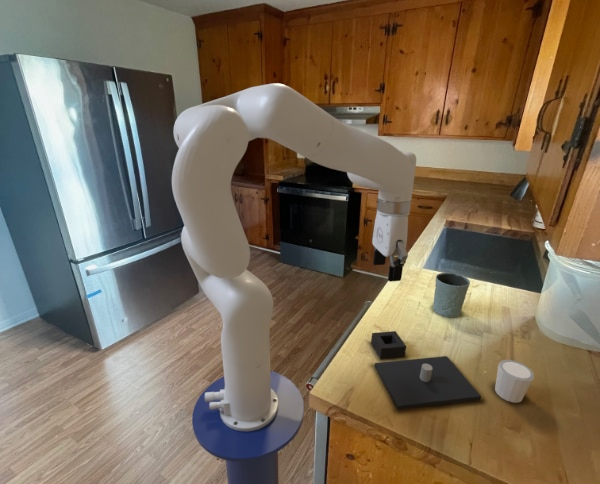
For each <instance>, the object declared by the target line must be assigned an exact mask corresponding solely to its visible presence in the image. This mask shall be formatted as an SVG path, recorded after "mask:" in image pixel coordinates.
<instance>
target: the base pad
mask: <svg viewBox="0 0 600 484" xmlns="http://www.w3.org/2000/svg"><path fill="white" fill-rule="evenodd" d="M374 368H375V371H376V373H377V374H378V376H379V378H380V380H381V382H382V384H383V386H384V387H385V390H386V391H387V393H388V395H389V397H390V399H391V401H392V402H393V404H394V406H395V408H396V410H397V411H400V410H409V409H416V408H418V409H419V408H424V407H425V408H426V407H435V406H444V405H451V404H459V403H468V402H476V401H481V399H482V395H481V394H480V393H479V392H478V390H477V389H476V388H475V386H474V385H473V384H471V382H470V381H469V380H468V378H466V377H465V376H464V374H463V373H462V372H461V371H460V370H459V368H458V367H457V366H456V365H455V363H453V362H452V360H451V359H450V358H449V357H448V355H446V356H445V355H443V356H436V357H434V356H433V357H423V358H412V359H402V360H401V359H400V360H393V361H381V362H375V363H374Z"/></svg>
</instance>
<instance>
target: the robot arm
mask: <svg viewBox="0 0 600 484" xmlns="http://www.w3.org/2000/svg"><path fill="white" fill-rule="evenodd" d="M172 132H173V138H174V142H175V144H176V146H177V148H178V150H177V152H176V155H175V158H174V163H173V167H172V172H171V190H172V194H173V199H174V202H175V203H176V208H177V210H178V212H179V215H180V217H181V220H182V222H183V225H184V226H183V228H182V229H181V233H180V234H181V235H180V240H181V241H180V242H181V247H182V250H183V252H184V255H185V256H186V258H187V260H188V263H189V265H190V267H191V269H192V272H193V273H194V275H195V278H196V280H197V281H198V284H199V286H200V288H201V290H202V291H203V293H204V295H205V296H206V297H207V299H208V300H209V301H210V302H211V303H212V305H213V306H214V308H215V309H216V310H217V312H218V313H219V315H220V317H221V320H222V329H221V333H220V348H221V349H220V350H221V356H222V367H223V377H224V380H225V389H222V390H220V392H206V393H205V402H210V405H209V408H210V409H216V408H220V416H221V419H222V421H223V422H224V423H225V424H226V425H227V426H228V427H230V428H232V429H234V430H237V431H246V432H247V431H254V430H257V429H260V428H262V427H264V426H266V425H267V424H269V423H270V422H271V421H272V420H273V418H274V417H275V416H276V413H277V411H278V397H277V395H276V393H275V392H274V391H273V390H272V389H271V375H270V371H271V346H270V345H271V343H270V342H271V341H270V340H271V339H270V338H271V337H270V333H271V321H272V317H273V312H274V298H273V295H272V293H271V291H270V289H269V287H268V286H267V285H266V284H265V282H263V281H262V280H261V279H260V278H259V277H257V276H256V275H255V274H254V273H252V271H249V270H248V267H249V264H250V260H251V249H250V244H249V240H248V238H247V236H246V233H245V231H244V228H243V225H242V222H241V220H240V217H239V213H238V211H237V208H236V205H235V201H234V197H233V194H232V179H233V175H234V173H235V170H236V168H237V166H238V165H239V163H240V161H241V160H242V158H244V157H243V156H244V155H245V153H246V152H247V148H248V146H249V145H248V144H249V142H250V141H253V140H255V139H258V138H259V139H269V140H271V141H274V142H275V143H277V144H279V145H281V146H283V147H284V148H287V149H289V150H291V151H293V152H295V153H297V154H298V155H301V156H302V157H304V158H305V159H307V160H309V161H311V162H313V163H315V164H317V165H320V166H322V167H325V168H327V169H331V170H334V171H335V170H336V171H340V172H344V173H346V174H347V178H348V179H349V180H350V182H351V183H353V184H354V185H356V186H358V187H362V188H365V189H370V190H376V191H378V195H377V207H376V215H375V220H374V226H373V232H372V238H371V239H372V241H371V243H372V246H373V261H372V264H373V265H374V266H384V265H385V264H386V261H387V258H388V257H389V261H390V265H389V266H388V276H387V281H388V282H391V283H392V282H400V281H402V277H403V269H404V267H405V264H406V262H407V259H408V257H409V253H408V251H407V243H408V230H409V215H410V213H411V204H412V198H413V189H414V182H415V176H416V168H417V155H416V154H415V153H414V152H410V151H402V150H399V149H398V148H397V147H395V146H394V145H392V144H391V143H389V142H387V141H385V140H383V139H382V138H379V137H377V136H375V135H372V134H370V133H368V132H365V131H363V130H361V129H359V128H357V127H355V126H353V125H350V124H347V123H345V122H342V121H341V120H339V119H337V118H336V117H334V116H333V115H331V113H329V112H327V111H325V110H324V109H323V108H322V107H320V106H318V105H317V104H316V103H315V102H313V101H311V100H310V99H308V98H307V97H306V96H305V95H303V94H301V93H300V92H298V91H297V90H295V89H294V88H293V87H290V86H289V85H286V84H282V83H278V82H277V83H275V82H274V83H268V84H261V85H256V86H251V87H247V88H246V89H243V90H240V91H237V92H235V93H231V94H229V95H225V96H223V97H220V98H216V99H213V100H211V101H207V102H204V103H201V104H197V105H194V106H191V107H189V108H186V109H185V110H183V111H182V112H181V113H180V114H179V115H178V116H177V117H176V119H175V122H174V125H173V131H172ZM395 258H396V259H395ZM216 400H220V402H212V401H216Z"/></svg>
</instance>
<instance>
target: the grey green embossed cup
mask: <svg viewBox="0 0 600 484" xmlns="http://www.w3.org/2000/svg"><path fill="white" fill-rule="evenodd" d="M434 284H435V288H434V294H433V295H434V296H433V304H432V310H433V311H434V312H435V313H436V314H438V315H439V316H442V317H445V318H457V317H459V316H460V315H461V312H462V309H463V306H464V303H465V300H466V296H467V293H468V290H469V288H470V285H471V281H470V280H469V278H467V277H466V276H464V275H462V274H460V273H459V274H458V273H456V272H441V273H438V274H436V276H435V283H434Z"/></svg>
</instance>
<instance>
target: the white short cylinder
mask: <svg viewBox="0 0 600 484" xmlns="http://www.w3.org/2000/svg"><path fill="white" fill-rule="evenodd" d="M534 378H535V374H534V372H533V371H532V369H531V368H530V367H529V366H527V365H525V364H524V363H522V362H519V361H517V360H512V359H503V360H501V361H499V363H498V367H497V374H496V378H495V379H496V380H495V386H494V390H495V393H496V394H497V396H498V397H500V398H501V399H503V400H505V401H507V402H510V403H513V404H515V403H521V402H523V399H524V397H525V395H526V394H527V392H528V389H529V388H530V387H531V384H532V383H533V380H534Z"/></svg>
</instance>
